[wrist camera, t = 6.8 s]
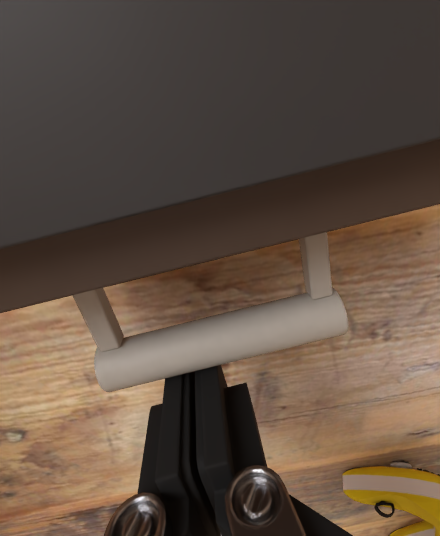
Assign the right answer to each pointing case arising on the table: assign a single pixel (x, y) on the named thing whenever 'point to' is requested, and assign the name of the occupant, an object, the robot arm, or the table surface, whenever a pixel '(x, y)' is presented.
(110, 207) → the cabinet
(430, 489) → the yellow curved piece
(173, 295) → the table surface
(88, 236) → the drawer
